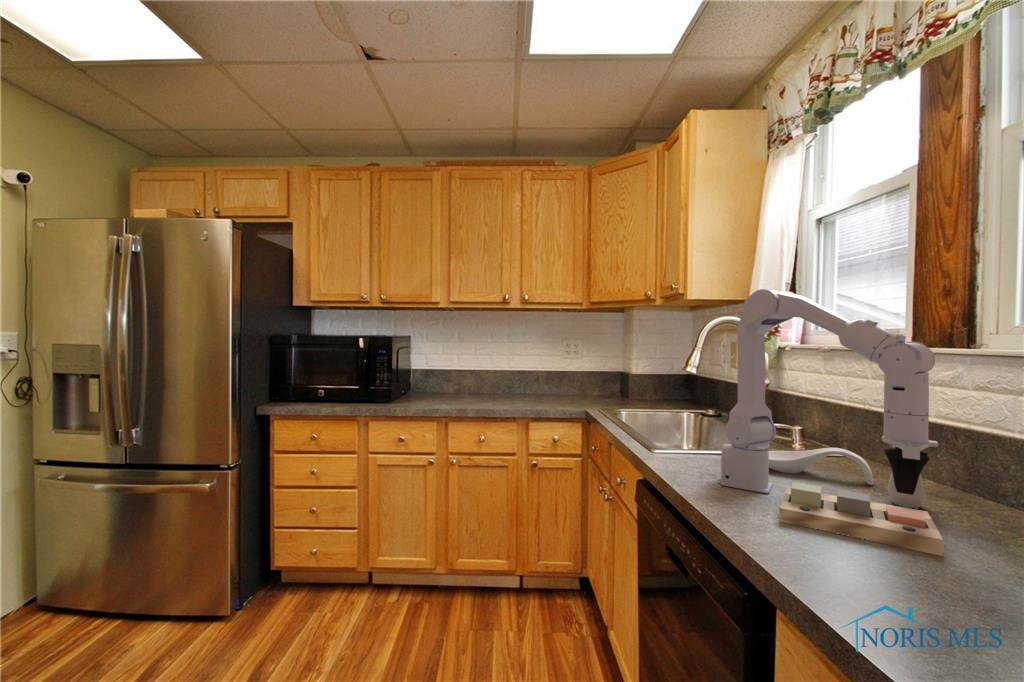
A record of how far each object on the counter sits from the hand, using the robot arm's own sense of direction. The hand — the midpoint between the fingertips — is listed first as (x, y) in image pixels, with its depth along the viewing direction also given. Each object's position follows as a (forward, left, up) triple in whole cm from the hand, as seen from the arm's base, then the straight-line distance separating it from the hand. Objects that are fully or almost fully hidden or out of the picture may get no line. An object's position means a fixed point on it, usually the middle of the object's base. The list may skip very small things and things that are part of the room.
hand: (904, 492), depth 75 cm
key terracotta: (0, 0, -6) cm, 6 cm away
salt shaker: (+2, +18, -7) cm, 20 cm away
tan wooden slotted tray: (-7, 0, -7) cm, 10 cm away
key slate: (-7, 0, -5) cm, 8 cm away
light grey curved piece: (-14, +32, -8) cm, 36 cm away
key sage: (-14, 0, -5) cm, 15 cm away
